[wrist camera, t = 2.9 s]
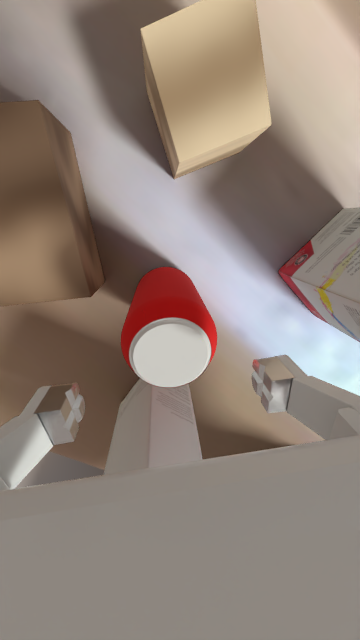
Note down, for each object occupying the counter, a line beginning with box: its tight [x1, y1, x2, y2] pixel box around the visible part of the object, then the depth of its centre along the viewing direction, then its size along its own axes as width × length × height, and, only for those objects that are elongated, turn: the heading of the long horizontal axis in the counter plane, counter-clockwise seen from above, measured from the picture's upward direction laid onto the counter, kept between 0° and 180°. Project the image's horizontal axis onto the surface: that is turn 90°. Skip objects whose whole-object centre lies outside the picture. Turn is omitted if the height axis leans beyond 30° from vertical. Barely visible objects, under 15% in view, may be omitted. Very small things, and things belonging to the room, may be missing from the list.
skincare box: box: [104, 379, 203, 475], centre depth 22 cm, size 8×6×15 cm
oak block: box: [141, 0, 272, 179], centre depth 15 cm, size 6×6×6 cm
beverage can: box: [121, 267, 217, 388], centre depth 18 cm, size 6×6×12 cm
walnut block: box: [0, 100, 105, 306], centre depth 17 cm, size 12×12×5 cm
